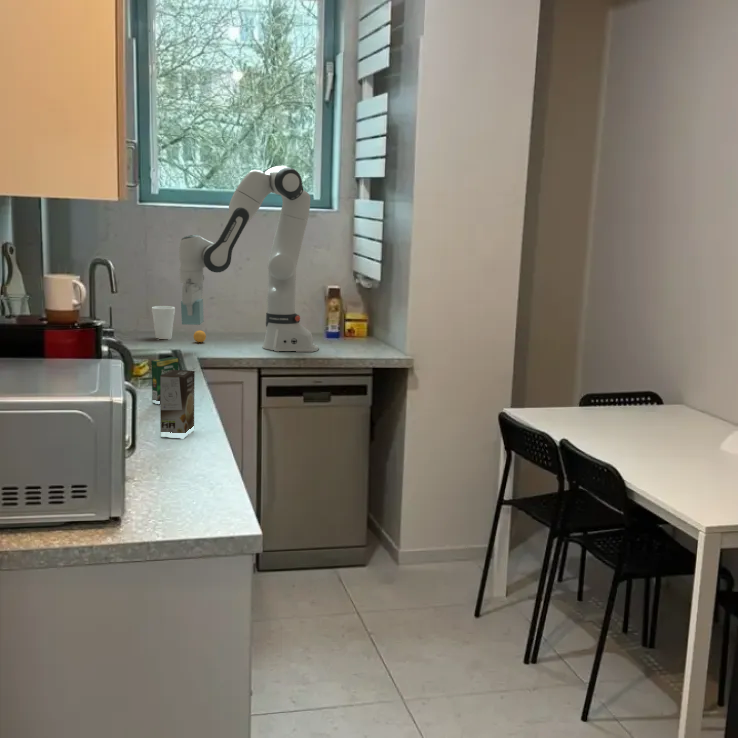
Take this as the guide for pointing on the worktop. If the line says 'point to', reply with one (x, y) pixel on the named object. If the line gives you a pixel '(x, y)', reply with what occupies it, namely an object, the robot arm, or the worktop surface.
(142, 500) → the worktop surface
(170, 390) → the coffee box
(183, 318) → the grey-teal block
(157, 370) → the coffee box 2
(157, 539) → the worktop surface
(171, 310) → the foam cup
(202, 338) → the ball
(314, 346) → the robot arm
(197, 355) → the worktop surface
